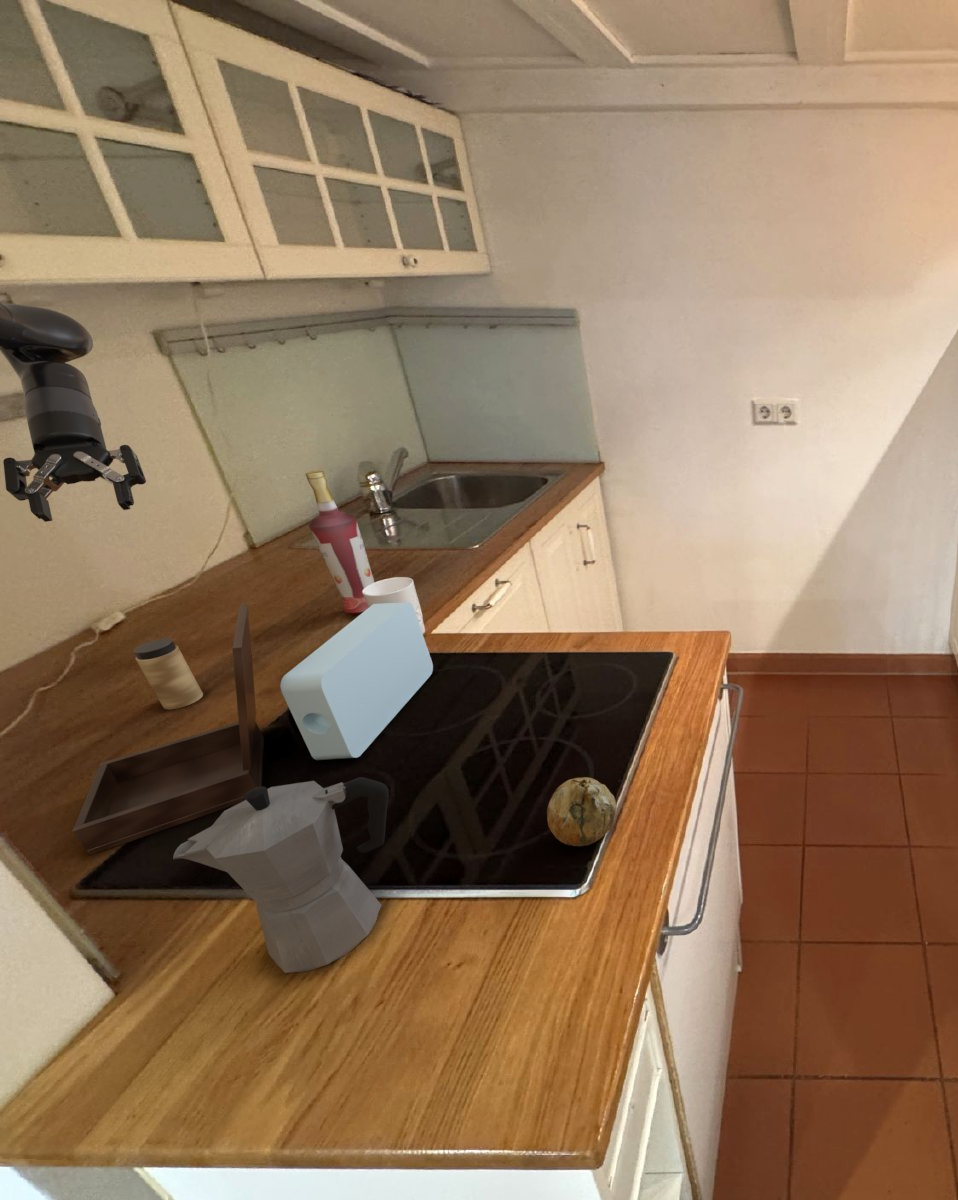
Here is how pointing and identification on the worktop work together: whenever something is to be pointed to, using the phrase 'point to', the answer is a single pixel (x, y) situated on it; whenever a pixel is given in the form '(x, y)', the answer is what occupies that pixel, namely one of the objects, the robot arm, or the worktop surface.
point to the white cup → (394, 594)
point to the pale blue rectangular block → (358, 681)
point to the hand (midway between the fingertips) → (86, 512)
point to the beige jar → (168, 673)
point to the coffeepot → (297, 867)
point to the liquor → (340, 546)
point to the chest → (167, 787)
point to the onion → (581, 811)
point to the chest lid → (244, 686)
